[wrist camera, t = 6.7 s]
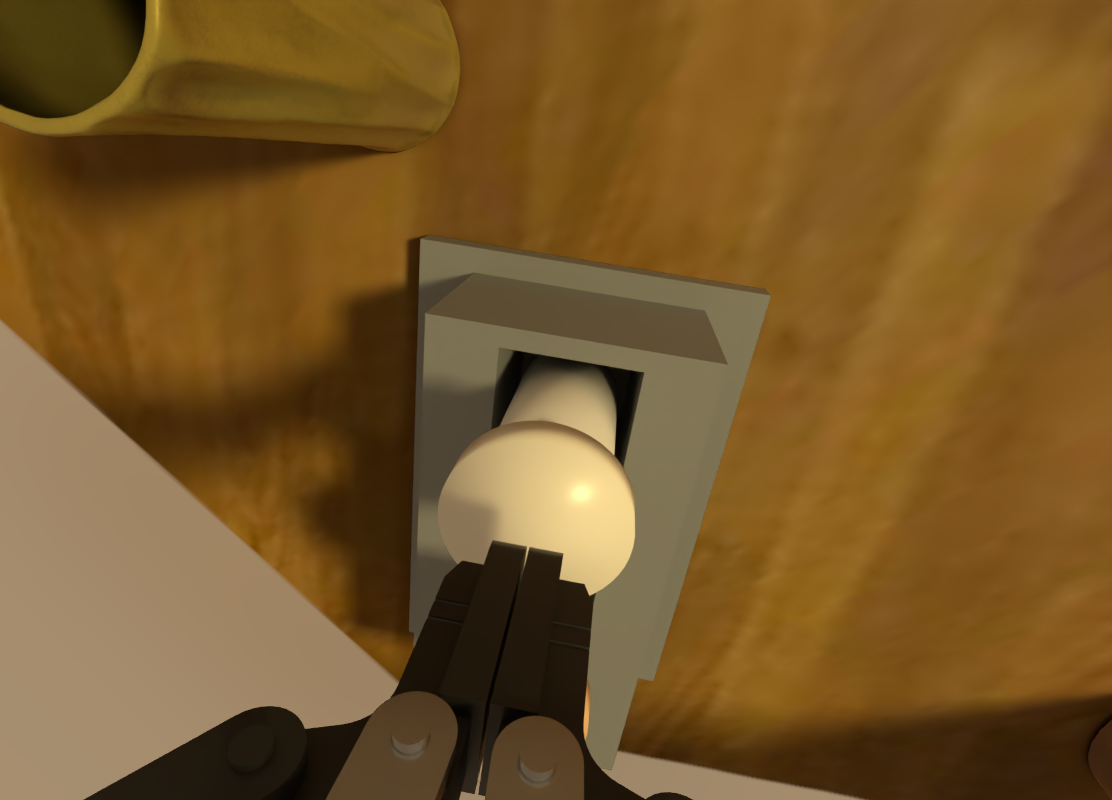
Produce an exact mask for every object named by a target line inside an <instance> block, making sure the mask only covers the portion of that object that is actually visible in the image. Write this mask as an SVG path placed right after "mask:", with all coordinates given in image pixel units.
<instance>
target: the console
mask: <svg viewBox="0 0 1112 800" xmlns="http://www.w3.org/2000/svg"><path fill="white" fill-rule="evenodd" d="M770 297H771V295H770V294H769V293H768V292H767V291H766V289H760V288H754V287H748V286H741V285H735V284H729V283H723V282H717V281H711V280H704V279H698V278H692V277H686V276H680V275H673V274H667V273H661V272H655V271H649V270H642V269H636V268H630V267H624V266H618V265H612V264H605V263H599V262H593V261H587V260H581V259H574V258H568V257H562V256H556V255H550V254H544V253H537V252H531V251H525V250H519V249H513V248H506V247H500V246H494V245H488V244H482V243H476V242H469V241H463V240H457V239H451V238H445V237H438V236H432V235H427V236H425V237H423V238H421V239H420V266H419V300H418V334H417V369H416V403H415V437H414V471H413V506H412V540H411V574H410V608H409V632H413V633H414V647H415V644H416V642H417V640H418V637H419V635H420V633H421V630H422V628H423V626H424V623H425V621H426V619H427V618H428V614H429V612H430V609H431V607H432V605H433V602H435V598H436V595H437V593H438V590H439V588H440V586H441V583H442V581H443V579H444V576H445V575H447V574H448V573H449V572H450V571H451V570H452V569H453V568H454V567H455V566H456V565H458V564H457V563H456V562H455V560H454V559H453V558H452V556H451V555H450V553H449V552H448V550H447V548H446V546H445V544H444V542H443V539H442V536H441V533H440V529H439V524H438V503H439V498H440V495H441V491H442V489H443V487H444V485H445V483H446V480H447V479H448V477H449V475H450V473H451V471H452V470H453V468H454V466H455V464H456V462H457V460H458V459H459V457H460V456H461V454H462V453H463V451H464V450H465V449H466V448H467V447H468V446H469V445H470V444H471V443H472V442H473V441H474V440H475V439H477V438H478V437H479V436H481V435H482V434H484V433H486V432H488V431H489V430H491V429H494V428H496V427H499V426H500V424H501V422H502V420H503V418H504V416H505V414H506V411H507V409H508V407H509V405H510V403H511V401H512V399H513V397H514V394H515V392H516V390H517V388H518V386H519V384H520V382H521V379H522V377H523V375H524V373H525V371H526V369H527V368H528V366H529V365H530V364H531V363H532V362H533V361H534V360H535V359H536V358H537V357H538V356H540V355H546V356H552V357H558V358H563V359H569V360H575V361H581V362H587V363H592V364H598V365H604V366H608V367H609V369H610V370H611V372H612V373H613V375H614V378H615V380H616V383H617V389H618V403H617V419H616V436H615V452H614V456H615V457H616V458H617V459H618V461H619V462H620V464H621V465H622V466H623V468H624V469H625V471H626V473H627V475H628V477H629V479H630V482H631V485H632V488H633V493H634V499H635V539H634V546H633V549H632V552H631V555H630V558H629V560H628V562H627V564H626V565H625V567H624V568H623V570H622V571H621V572H620V574H619V575H618V576H617V577H616V578H615V579H614V580H613V581H612V582H611V583H610V584H608V585H607V586H606V587H604V588H603V589H601V590H600V591H598V592H596V593H594V594H592V595H590V599H591V601H592V604H593V615H592V627H591V639H590V649H589V663H588V676H587V680H588V682H589V686H590V695H591V698H590V711H589V724H588V732H587V736H586V739H585V741H586V744H587V748H588V750H589V752H590V754H591V756H592V758H593V759H594V761H595V762H596V764H597V765H598V766H599V767H600V768H603V769H608V770H612V767H613V763H614V760H615V756H616V753H617V750H618V746H619V743H620V739H621V736H622V732H623V729H624V725H625V722H626V719H627V715H628V712H629V708H630V705H631V701H632V698H633V694H634V691H635V687H636V684H637V680H638V678H640V679H645V680H650V681H653V680H654V677H655V674H656V670H657V667H658V664H659V661H660V657H661V654H662V651H663V647H664V644H665V641H666V638H667V634H668V631H669V628H670V624H671V621H672V618H673V615H674V611H675V608H676V605H677V602H678V598H679V595H680V592H681V588H682V585H683V582H684V579H685V575H686V572H687V569H688V566H689V562H690V559H691V556H692V552H693V549H694V546H695V543H696V539H697V536H698V533H699V529H700V526H701V523H702V520H703V516H704V513H705V510H706V507H707V503H708V500H709V497H710V493H711V490H712V487H713V484H714V480H715V477H716V474H717V471H718V467H719V464H720V461H721V457H722V454H723V451H724V448H725V444H726V441H727V438H728V434H729V431H730V428H731V425H732V421H733V418H734V415H735V412H736V408H737V405H738V402H739V398H740V395H741V392H742V389H743V385H744V382H745V379H746V376H747V372H748V369H749V366H750V362H751V359H752V356H753V353H754V349H755V346H756V343H757V339H758V336H759V333H760V330H761V326H762V323H763V320H764V317H765V313H766V310H767V307H768V303H769V300H770Z"/></svg>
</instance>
